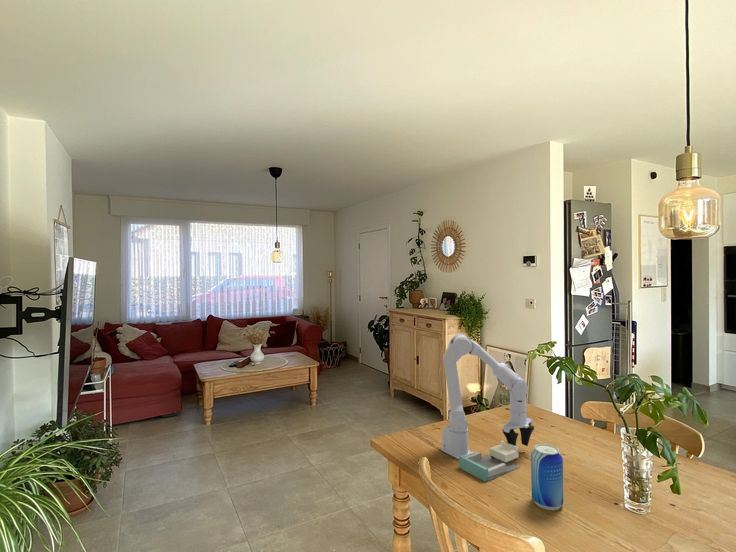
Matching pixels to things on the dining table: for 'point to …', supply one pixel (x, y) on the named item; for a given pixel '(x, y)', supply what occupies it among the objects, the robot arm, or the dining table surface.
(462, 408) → the robot arm
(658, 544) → the dining table surface
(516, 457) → the cream notched block
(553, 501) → the beer can
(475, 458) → the dock
